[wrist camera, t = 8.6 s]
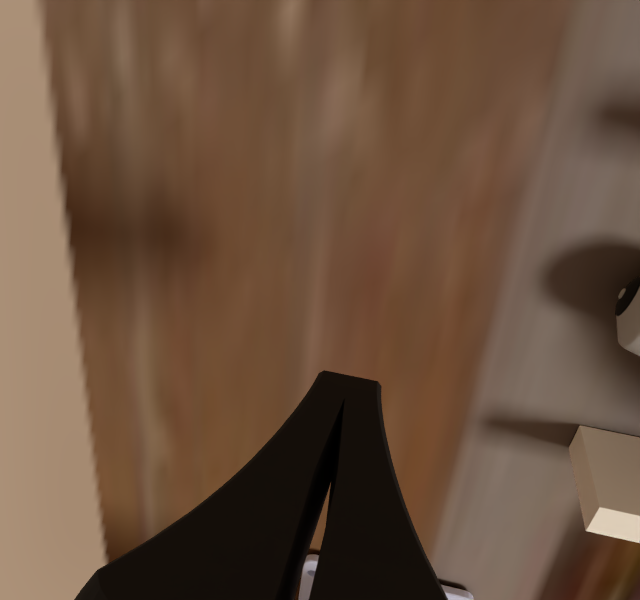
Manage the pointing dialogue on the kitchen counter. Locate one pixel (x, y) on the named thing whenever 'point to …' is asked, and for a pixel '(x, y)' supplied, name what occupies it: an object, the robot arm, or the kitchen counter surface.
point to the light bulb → (629, 317)
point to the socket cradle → (608, 481)
